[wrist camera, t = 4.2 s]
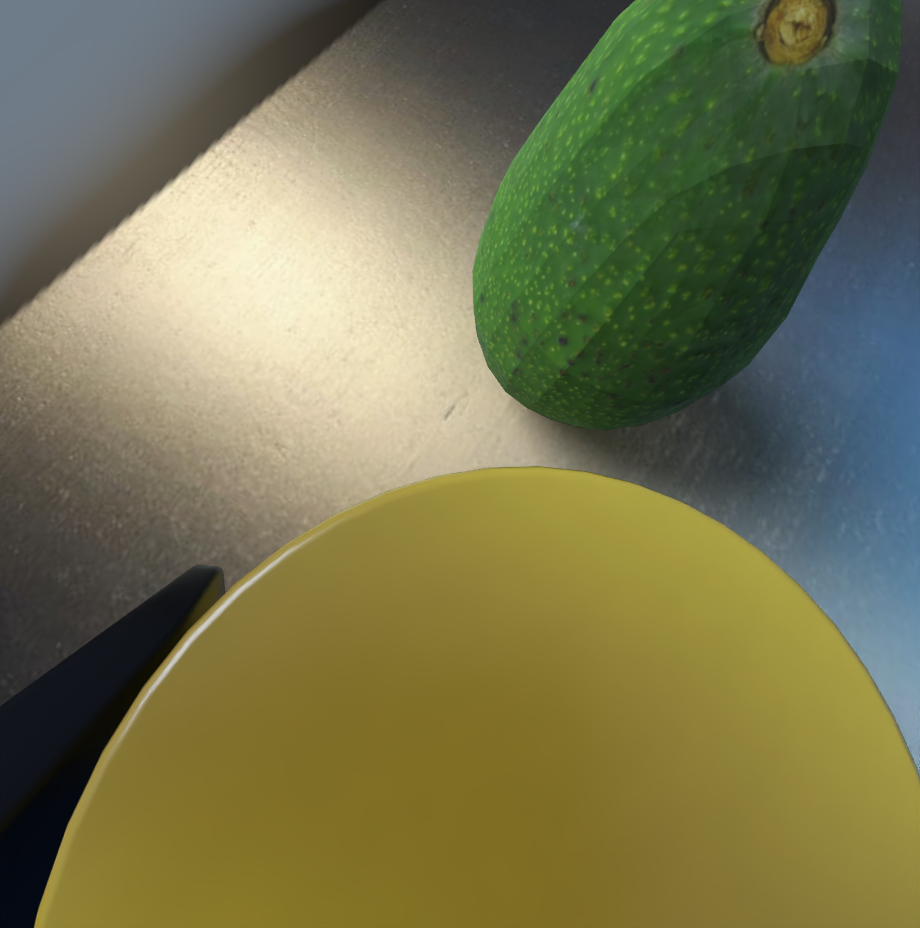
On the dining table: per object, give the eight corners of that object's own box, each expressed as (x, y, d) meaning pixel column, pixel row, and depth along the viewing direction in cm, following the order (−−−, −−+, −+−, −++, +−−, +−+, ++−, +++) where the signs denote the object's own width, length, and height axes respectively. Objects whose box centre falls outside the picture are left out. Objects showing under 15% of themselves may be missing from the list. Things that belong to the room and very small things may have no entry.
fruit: (426, 272, 18) (521, -268, 7) (619, 254, 20) (967, -202, 8) (473, 479, 17) (701, 259, 5) (677, 441, 18) (1200, 208, 7)
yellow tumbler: (451, 759, 15) (911, 1850, 2) (287, 693, 14) (-332, 1522, 2) (512, 591, 16) (1006, 645, 3) (365, 528, 16) (327, 333, 3)
